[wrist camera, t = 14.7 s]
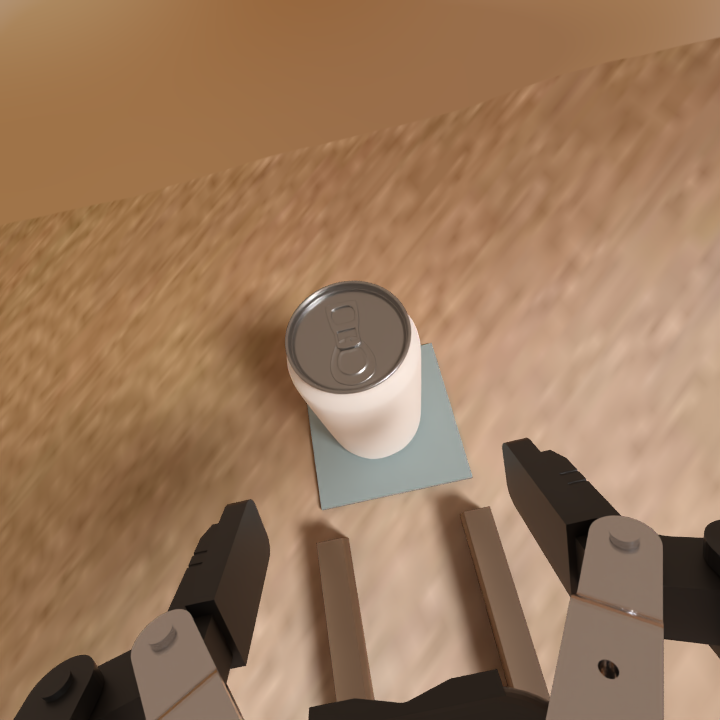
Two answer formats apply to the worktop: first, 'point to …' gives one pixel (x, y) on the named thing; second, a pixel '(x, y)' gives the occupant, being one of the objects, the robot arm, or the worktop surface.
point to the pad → (400, 470)
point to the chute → (496, 593)
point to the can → (358, 366)
